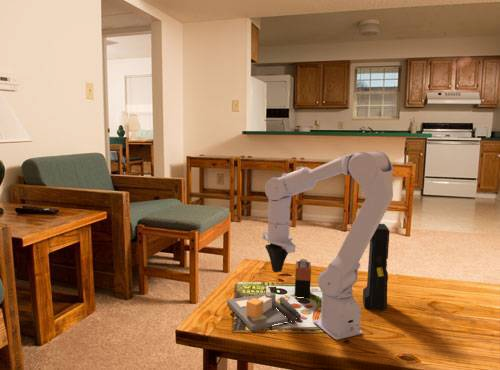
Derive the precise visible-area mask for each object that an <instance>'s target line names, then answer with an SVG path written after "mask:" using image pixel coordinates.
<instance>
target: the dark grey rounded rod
mask: <svg viewBox="0 0 500 370" xmlns="http://www.w3.org/2000/svg"><path fill="white" fill-rule="evenodd" d="M279 300H280V301H279V303H280V302H281V303H282V304H283V305H284V306H285V307H286V308H287V309H288V311H289V312H290V313H291V314H292V315H294V316H295V317H296V318H297V319H296V320H300V319H301V318H302V315H301V313H300V312H299V311H298V310H297V309H296V308H295V307H294V306H293V305H292V304H291V303H290V302H288V300H287V299H285V298H284V297H279ZM281 303H280V304H281ZM282 304H281V305H282ZM283 305H282V306H283ZM284 306H283V307H284ZM285 307H284V308H285ZM286 308H285V309H286ZM287 309H286V310H287Z"/></svg>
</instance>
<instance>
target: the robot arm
mask: <svg viewBox="0 0 500 370" xmlns="http://www.w3.org/2000/svg"><path fill="white" fill-rule="evenodd" d="M393 172H394V166H393V164H392V161H391V160H390V157H389V156H388V155H387V154H386V153H385V152H383V151H380V150H375V151H368V152H367V151H359V152H356V153H354V154H347V155H344V156H340V157H338V158H335V159H334V160H331V161H329V162H326V163H324V164H322V165H320V166H317V167H315V168H313V169H311V168H310V167H308V166H302V165H301V166H297V167H296V168H295V170H294V171H292V172H284V173H282V174H281V176H280V177H271V178H269V179H268V180H267V182H265V185H264V193H265V195H266V197H267V198H268V210H267V212H268V214H267V215H268V218H267V231H263V232H262V240H266V242H267V243H268V244H266V245H265V249H266V251H267V253H268V257H269V260H270V266H271V270H272V272H273V273H280V272H282V270H283V268H284V267H283V266H284V264H285V260H286V259H287V256H288V254H291V253H293V254H294V253H296V245H295V244H294V243H293V242H292V241H293V237H292V236H290V217H291V215H290V214H291V203H292V197H293V196H295V195H298V194H301V193H304V192H306V191H309V190H313V189H314V188H315V186H316V185H317V183H318V182H319V181H322V180H325V179H328V178H332V177H335V176H338V175H341V174H342V175H345V176H351V177H352V178H353V180H355V182H356V183H357V185H359V186H360V188H361V189H362V191H363V193H364V196H365V199H364V202H363V203H362V205H361V207H360V209H359V211H358V213H357V215H356V217H355V219H354V221H353V223H352V225H351V227H350V228H349V231H348V233H347V235H346V237H345V238H344V241H343V242H342V245H341V247H340V249H339V250H338V253H337V254H336V255H335V257H334V258H333V259H332V260H331V261H330V262H329V264H328V265H327V268H326V269H324V270H323V271H321V272H320V273H319V275H318V277H317V284H318V287H319V289H320V291H321V307H320V308H321V309H320V310H321V311H320V318H318V319H314V320H313V323H314V324H315V323H316V324H317V325H318V326H317V325H316V324H315V325H316V326H317V327H318V328H320V329H321V330H322V331H324V332H325V333H326V334H328V335H329V336H330V337H332V338H333V339H334V340H336V341H338V340H341V339H347V338H350V337H353V336H359V335H362V334H363V330H361V318H362V307H361V305H360V304H359V303H358V302H357V301H356V299H355V298H354V296H353V295H354V294H353V293H354V292H353V291H354V290H353V286H354V285H355V284H356V283H357V282H358V281H357V280H358V276H359V274H358V272H359V268H360V267H361V263H360V260H361V259H362V257H363V255H364V254H365V251H366V250H367V248H368V245H370V240H371V238H372V236H373V234H374V233H375V231H376V229H377V227H378V225H379V224H381V222H382V219H383V217H384V216H385V214H386V213H387V210H388V208H389V206H390V204H391V203H392V201H393V198H394V190H393V189H394V188H393V185H394V183H393V174H394V173H393Z"/></svg>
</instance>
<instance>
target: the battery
mask: <svg viewBox="0 0 500 370" xmlns="http://www.w3.org/2000/svg"><path fill="white" fill-rule="evenodd" d="M311 266H312V265H311V261H308V260H307V259H305V258H301V259H300V260H297V261H296V262H295V272H294V276H295V279H294V297H295V296H297V297H304V298H309V299H311V280H312V267H311Z"/></svg>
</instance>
